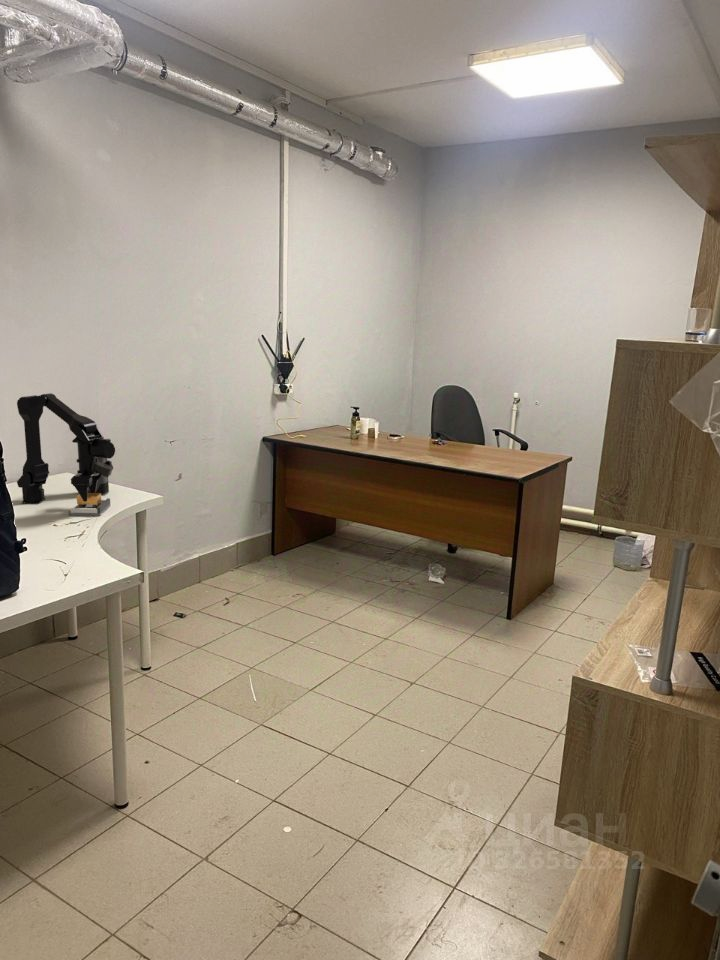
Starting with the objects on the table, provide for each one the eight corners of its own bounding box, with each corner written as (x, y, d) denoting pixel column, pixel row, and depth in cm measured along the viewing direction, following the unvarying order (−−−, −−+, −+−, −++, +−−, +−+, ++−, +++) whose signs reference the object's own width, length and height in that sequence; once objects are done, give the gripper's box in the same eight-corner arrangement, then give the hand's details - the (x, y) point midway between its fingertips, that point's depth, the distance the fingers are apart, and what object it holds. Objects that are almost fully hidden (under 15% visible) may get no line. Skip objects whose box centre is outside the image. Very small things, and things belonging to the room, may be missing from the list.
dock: (68, 515, 242) (67, 507, 241) (80, 505, 254) (79, 497, 254) (100, 516, 243) (99, 507, 242) (110, 506, 255) (110, 498, 254)
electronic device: (81, 495, 268) (78, 444, 264) (86, 491, 274) (83, 442, 269) (105, 495, 269) (102, 445, 264) (110, 491, 274) (107, 442, 270)
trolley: (77, 509, 246) (76, 496, 244) (82, 506, 250) (81, 492, 249) (97, 510, 246) (96, 496, 245) (101, 506, 251) (100, 493, 250)
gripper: (102, 461, 235) (104, 505, 239) (117, 450, 253) (119, 491, 257) (69, 460, 234) (71, 504, 238) (86, 450, 252) (88, 491, 256)
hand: (89, 497), depth 247 cm, fingers open, 9 cm apart
